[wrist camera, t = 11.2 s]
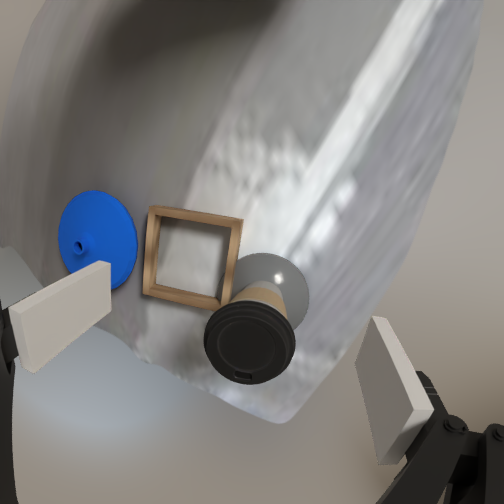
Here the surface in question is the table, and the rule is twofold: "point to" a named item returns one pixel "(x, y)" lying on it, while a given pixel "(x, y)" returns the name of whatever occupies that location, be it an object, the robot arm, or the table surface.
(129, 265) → the blue spouted lid
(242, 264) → the grey round plate
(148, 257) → the wooden square frame
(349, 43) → the table surface
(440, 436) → the robot arm
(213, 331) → the coffee cup
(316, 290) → the table surface
